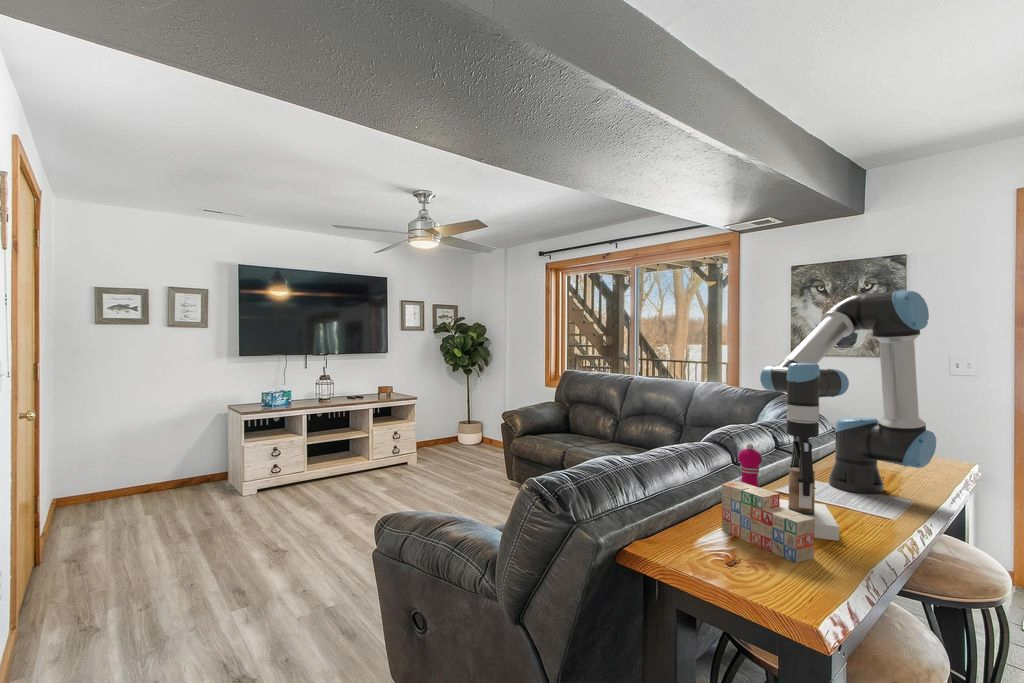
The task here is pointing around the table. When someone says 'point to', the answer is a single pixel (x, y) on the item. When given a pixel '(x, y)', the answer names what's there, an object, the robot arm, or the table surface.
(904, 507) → the table surface
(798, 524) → the stack of blocks
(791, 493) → the walnut peg
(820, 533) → the cream board
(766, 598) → the table surface
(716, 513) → the table surface
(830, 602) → the table surface
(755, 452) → the pepper mill
